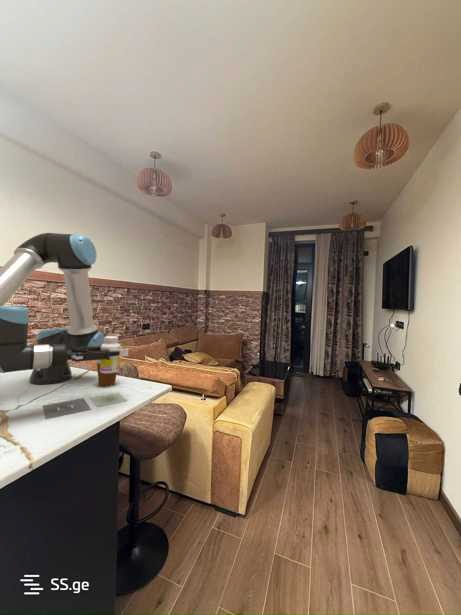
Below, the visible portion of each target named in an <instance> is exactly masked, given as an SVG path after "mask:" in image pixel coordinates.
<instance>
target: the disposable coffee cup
mask: <svg viewBox="0 0 461 615" xmlns="http://www.w3.org/2000/svg"><path fill="white" fill-rule="evenodd" d="M95 362H96V366H97V380H98V386H99V387H102V388H108V387H112V385H113V386H114V385H115V384H116V378H117V375H118V374H117V373H118V372H115V373H101V372H100V360H95Z"/></svg>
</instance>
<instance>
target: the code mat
mask: <svg viewBox="0 0 461 615" xmlns="http://www.w3.org/2000/svg"><path fill="white" fill-rule="evenodd" d="M42 410H43V412H44V419H45V420H49V419H53V418H58V417H62V416H68V415H73V414H77V413H81V412H86V411H91V410H92V409H91V407H90V406H89V404H88V402H87V401H86V399H85V398H84V397H83V398H77V399H71V400H67V401H66V400H65V401H61V402H54V403H48V404H45V405H44V404H43V405H42Z"/></svg>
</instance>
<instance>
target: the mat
mask: <svg viewBox="0 0 461 615" xmlns="http://www.w3.org/2000/svg"><path fill="white" fill-rule="evenodd" d="M90 400H91V401H92V402H93V404H94V406H95V407H96V408H99V407H104V406H108V405H113V404H118V403H124V402H127V401H128V400H127V399H126V398H125V397H124V396H123V395H121V393H119V392H114V393H109V394H103V395H98V396H94V397H92V396H91V397H90Z"/></svg>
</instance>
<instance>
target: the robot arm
mask: <svg viewBox="0 0 461 615" xmlns="http://www.w3.org/2000/svg"><path fill="white" fill-rule="evenodd" d="M96 261H97V249H96V246H95V245H94V243H93V241H92V240H91V239H90V238H89V237H88V236H86V235H82V234H76V233H73V234H72V233H71V234H70V233H57V232H56V233H53V232H45V233H44V232H43V233H39V234H37V235H35V236H32V237H31V238H28V239H27V240H25V241H24V242H22V243H20V245H19V246H17V248H15V249H14V250H13V256H12V257H11V258H10V259H9V260H8V261H7V262H6V263H4V265H3V266H2V267H1V268H0V374H1V373H2V374H5V373H13V372H21V371H29V370H30V371H31V370H32V372H31V374H30V377H29V382H30V383H31V384H32V385H33V384H34V385H52V384H59V383H62V382H67V381H68V380H70V379H72V377H73V376H72V374H73V373H72V370H71V366H70V364H69V361H70V360H71V361H72V362H75V363H78V362H86V361H96V360H103V359H107V360H109V359H110V358H112V357H120V358H122V357H129V348H123V345H120V346H121V348H120V349H114V350H107V351H101V345H102V344H104V343H105V341H104V337H105V335H104V333H103V332H100V331H99V329H98V326H97V325H96V324H94V318H93V317H94V316H93V309H92V299H91V289H90V280H89V271H90V270H91V269H92V265H94V264H95V263H96ZM49 263H54V264H55V263H57V268H58V270H60V271H61V272H63V279H64V285H65V293H66V294H65V295H66V300H67V301H66V302H67V308H68V315H69V316H68V317H69V323H70V327H59V328H49V329H48V328H47V329H42V330H40V331H39V332H38V333H37V338H36V344H33V345H32V344H31V345H28V336H29V334H28V333H29V322H30V320H29V309H28V308H27V307H25V306H15V305H8V306H7V305H6V304H7V303H8V301H9V300H10V299H11V298H12V297H13V296H14V295H15V294H16V292H17V291H18V290H19V289H20V287H22V286H23V284H25V282H26V281H27V280H28V279H29V278H30V276H31V275H33V273H34V272H35V271H36V270H38V269H42V268H43V266H45V265H46V264H49ZM5 305H6V306H5Z"/></svg>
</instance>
